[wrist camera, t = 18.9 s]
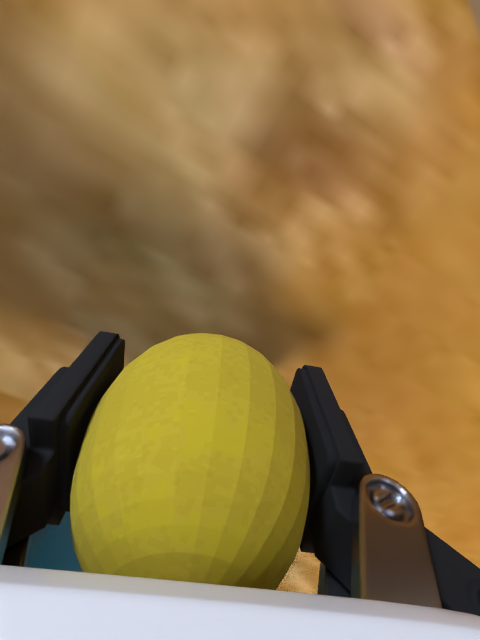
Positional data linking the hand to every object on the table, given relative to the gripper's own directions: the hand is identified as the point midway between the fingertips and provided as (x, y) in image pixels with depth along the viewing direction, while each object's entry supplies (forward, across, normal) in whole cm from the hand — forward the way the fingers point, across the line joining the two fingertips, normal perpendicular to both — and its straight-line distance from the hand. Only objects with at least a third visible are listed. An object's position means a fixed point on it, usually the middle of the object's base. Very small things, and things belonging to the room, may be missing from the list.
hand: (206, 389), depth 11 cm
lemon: (+2, 0, 0) cm, 2 cm away
